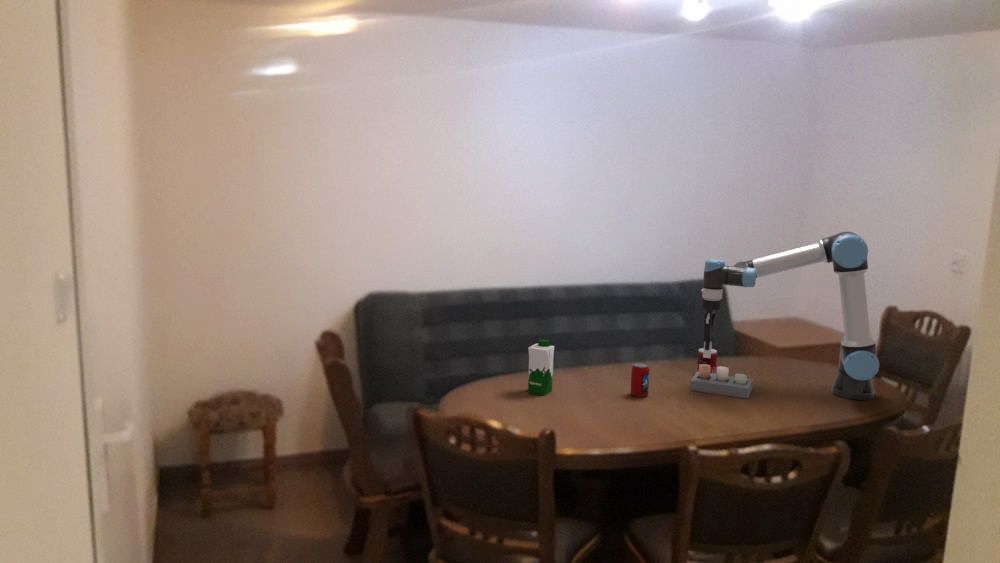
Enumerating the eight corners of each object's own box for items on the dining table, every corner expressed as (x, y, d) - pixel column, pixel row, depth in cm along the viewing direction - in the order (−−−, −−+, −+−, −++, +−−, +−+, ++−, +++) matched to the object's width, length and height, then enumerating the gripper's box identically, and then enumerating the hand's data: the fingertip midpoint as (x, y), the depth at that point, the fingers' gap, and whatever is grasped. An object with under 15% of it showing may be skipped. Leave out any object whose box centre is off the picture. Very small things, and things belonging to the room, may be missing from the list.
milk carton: (555, 390, 300) (556, 340, 296) (545, 397, 292) (547, 345, 288) (534, 387, 304) (536, 337, 300) (524, 393, 296) (525, 342, 292)
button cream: (728, 379, 307) (729, 367, 306) (726, 382, 303) (727, 370, 302) (717, 378, 308) (718, 365, 308) (715, 380, 304) (716, 368, 304)
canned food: (713, 373, 329) (715, 348, 327) (717, 378, 321) (718, 353, 319) (695, 372, 329) (697, 347, 328) (698, 377, 321) (699, 352, 320)
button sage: (746, 387, 304) (747, 374, 303) (745, 390, 300) (746, 377, 299) (735, 385, 306) (735, 373, 305) (733, 388, 302) (734, 375, 301)
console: (752, 388, 308) (753, 379, 307) (747, 398, 295) (748, 388, 295) (696, 381, 317) (697, 371, 316) (689, 390, 304) (690, 380, 304)
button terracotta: (710, 377, 309) (711, 365, 309) (708, 379, 305) (709, 367, 305) (699, 375, 311) (700, 363, 310) (697, 378, 307) (698, 366, 306)
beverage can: (648, 398, 293) (649, 367, 291) (630, 397, 294) (631, 366, 292) (648, 393, 299) (650, 363, 297) (630, 391, 301) (632, 361, 299)
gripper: (705, 295, 310) (700, 352, 314) (698, 300, 298) (694, 359, 302) (724, 297, 307) (719, 355, 311) (718, 302, 295) (713, 362, 299)
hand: (706, 357), depth 307 cm, fingers closed
